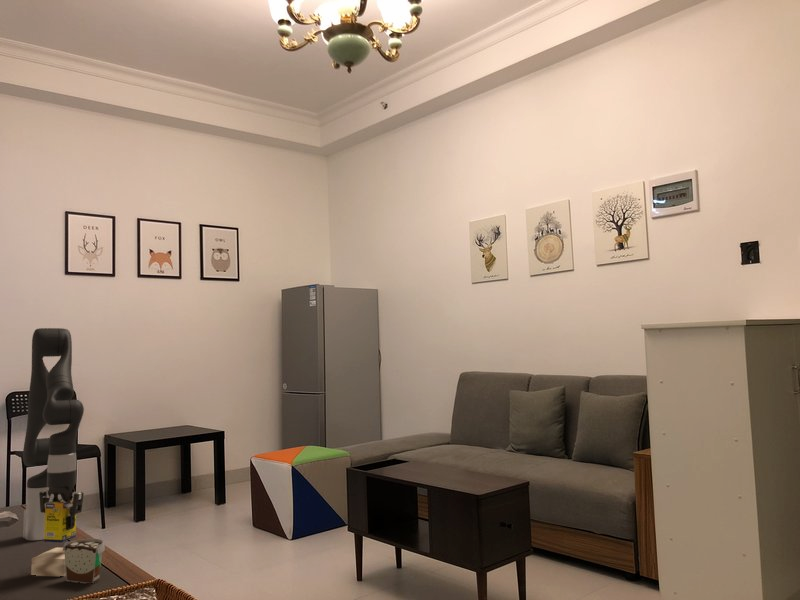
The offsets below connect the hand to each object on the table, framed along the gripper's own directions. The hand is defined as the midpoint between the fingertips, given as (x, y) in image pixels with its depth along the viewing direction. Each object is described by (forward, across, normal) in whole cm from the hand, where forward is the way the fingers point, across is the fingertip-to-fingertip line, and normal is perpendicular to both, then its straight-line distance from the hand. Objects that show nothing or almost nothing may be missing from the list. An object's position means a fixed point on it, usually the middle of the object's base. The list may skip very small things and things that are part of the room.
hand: (60, 528), depth 182 cm
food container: (+12, -14, +4) cm, 19 cm away
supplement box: (+3, 0, 0) cm, 3 cm away
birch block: (+12, 0, 0) cm, 12 cm away
